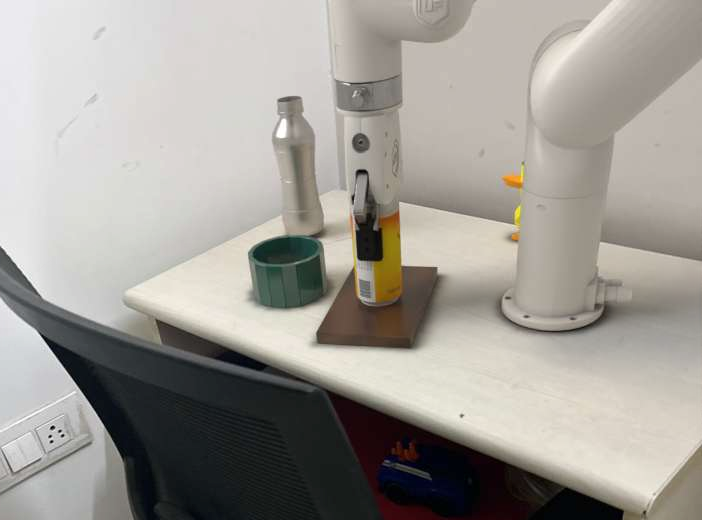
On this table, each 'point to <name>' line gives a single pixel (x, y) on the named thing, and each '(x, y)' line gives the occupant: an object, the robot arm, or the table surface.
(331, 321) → the board
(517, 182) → the toy figure
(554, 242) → the robot arm
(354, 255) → the beer can
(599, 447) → the table surface
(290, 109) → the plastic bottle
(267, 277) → the crock
